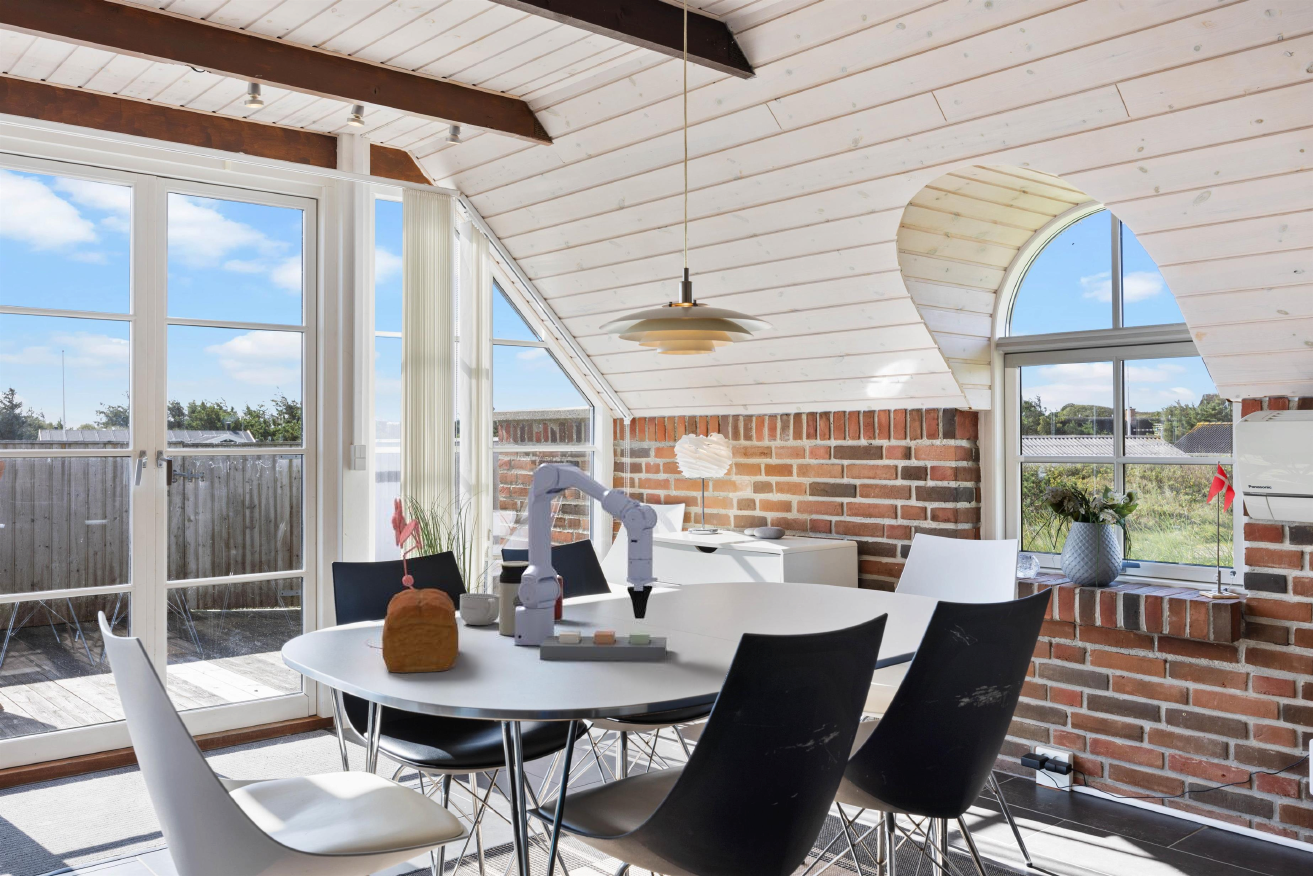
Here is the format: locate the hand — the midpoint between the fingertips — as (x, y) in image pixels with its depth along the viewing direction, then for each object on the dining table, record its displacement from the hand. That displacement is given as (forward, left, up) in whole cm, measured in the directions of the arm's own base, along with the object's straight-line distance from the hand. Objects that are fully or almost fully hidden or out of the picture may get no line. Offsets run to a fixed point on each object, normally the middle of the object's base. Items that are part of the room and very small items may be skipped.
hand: (639, 618), depth 230 cm
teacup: (-44, +37, -9) cm, 58 cm away
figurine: (-60, +13, -9) cm, 62 cm away
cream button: (-16, 0, -7) cm, 17 cm away
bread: (-48, -8, -9) cm, 50 cm away
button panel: (-8, 0, -8) cm, 12 cm away
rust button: (-8, 0, -7) cm, 10 cm away
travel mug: (-33, +25, -9) cm, 42 cm away
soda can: (-27, +45, -9) cm, 53 cm away
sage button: (0, 0, -7) cm, 7 cm away
